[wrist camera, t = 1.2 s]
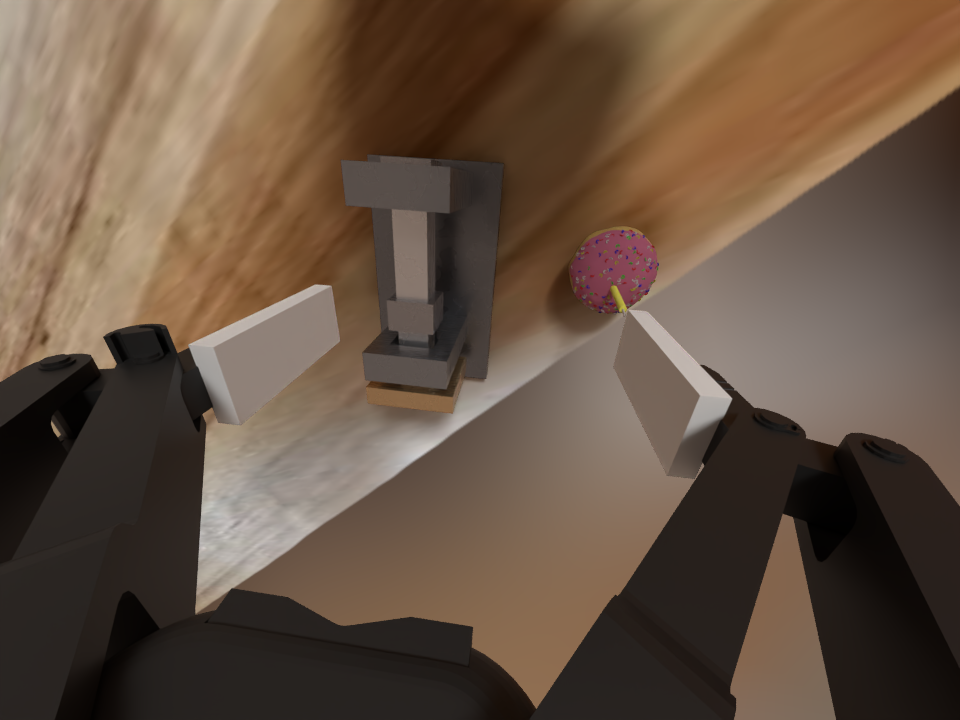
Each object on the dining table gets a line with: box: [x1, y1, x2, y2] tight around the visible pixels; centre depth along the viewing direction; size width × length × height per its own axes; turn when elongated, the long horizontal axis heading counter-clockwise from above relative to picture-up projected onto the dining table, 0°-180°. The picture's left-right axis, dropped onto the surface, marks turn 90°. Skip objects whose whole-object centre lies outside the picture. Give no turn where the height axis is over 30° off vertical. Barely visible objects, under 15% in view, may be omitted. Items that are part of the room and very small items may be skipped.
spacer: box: [366, 356, 467, 414], centre depth 39 cm, size 2×9×9 cm, turn 86°
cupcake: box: [568, 226, 659, 317], centre depth 33 cm, size 9×8×12 cm
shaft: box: [380, 156, 443, 349], centre depth 33 cm, size 24×4×4 cm, turn 177°
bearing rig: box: [341, 155, 504, 389], centre depth 35 cm, size 25×14×14 cm, turn 177°
